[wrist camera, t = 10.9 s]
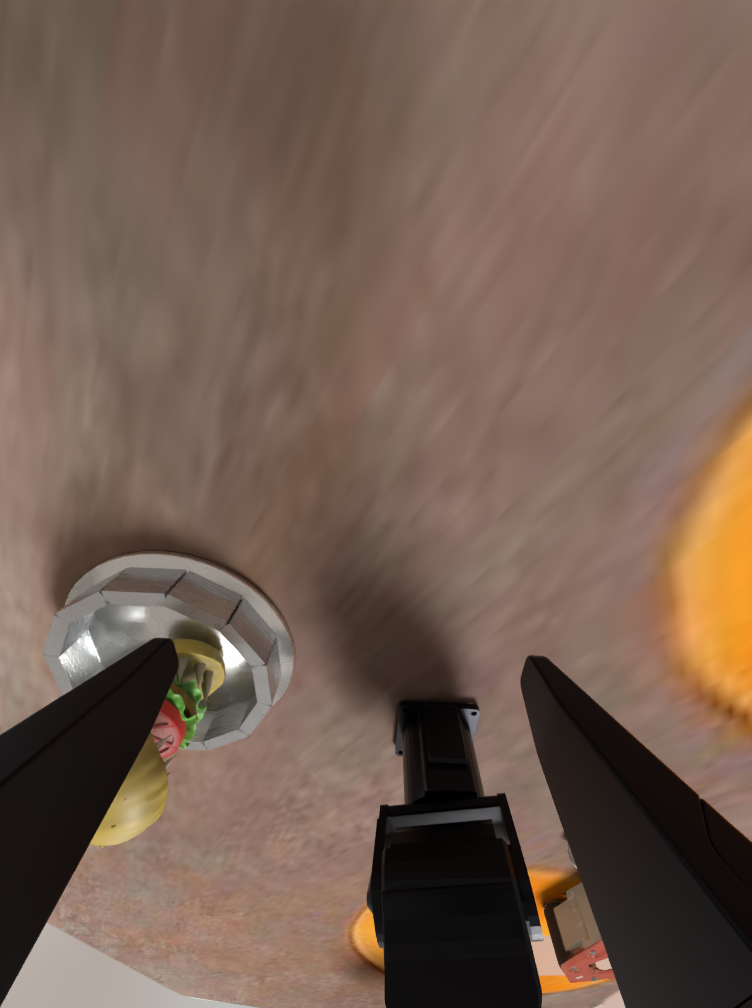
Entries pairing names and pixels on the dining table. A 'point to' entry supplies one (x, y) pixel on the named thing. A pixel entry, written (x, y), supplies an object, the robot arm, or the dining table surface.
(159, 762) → the hamburger
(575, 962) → the tape dispenser
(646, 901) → the robot arm
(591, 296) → the dining table surface
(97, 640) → the collar
